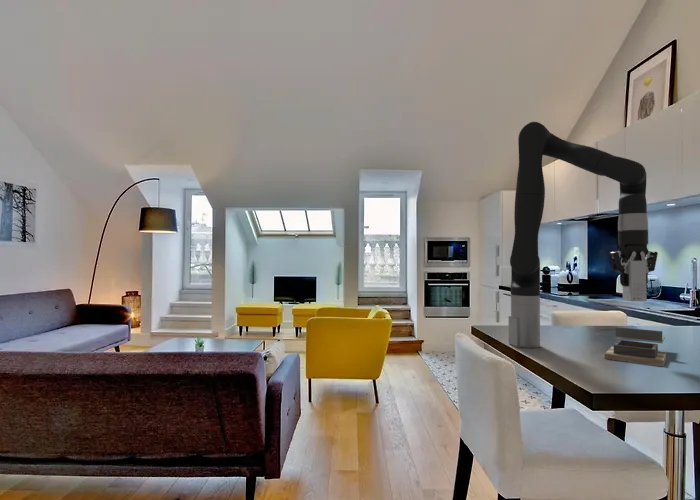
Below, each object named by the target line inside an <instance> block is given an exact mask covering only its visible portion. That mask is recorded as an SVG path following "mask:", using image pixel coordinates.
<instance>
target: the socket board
mask: <svg viewBox="0 0 700 500" xmlns="http://www.w3.org/2000/svg"><path fill="white" fill-rule="evenodd" d="M658 345H659V343H653V342H644V341H634V340H625V339H618V340H617V341H616V342H615V343H614V344H613V345H612V346H611V347H610V348H609V349H608V350H606V351H605V353H604V360H605V359H606V360H611V359H612V361H613V360H614V361H619V362H626V361H628V362H629V363H634V362H635V363H636V364H641V365H649V366H656V367H657V366H658V367H664V365H665V363H666V360H667V356H668V352H666V351H659V346H658ZM628 362H627V363H628Z"/></svg>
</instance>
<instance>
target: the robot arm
mask: <svg viewBox="0 0 700 500" xmlns="http://www.w3.org/2000/svg"><path fill="white" fill-rule="evenodd" d="M517 141H518V142H517V143H518V170H517V176H516V185H515V187H516V188H515V194H514V195H515V196H514V213H513V214H514V236H513V237H514V238H513V243H512V244H513V245H512V249H511V253H510V257H509V264H510V267H511V269H510V270H511V271H510V272H511V276H510V277H511V280H510V281H511V283H510V315H509V316H508V344H510V345H511V346H513V347H516V348H525V349H526V348H530V349H531V348H532V349H533V348H540V347H541V259H540V256H539V232H540V227H541V224H542V220H543V214H544V207H545V198H546V196H545V195H546V193H545V192H546V186H545V179H544V172H543V156H545V157H550V158H553V159H557V160H560V161H562V162H565V163H568V164H570V165H572V166H575V167H576V168H579V169H582V170H585V171H587V172H590V173H592V174H595V175H597V176H600V177H606V178H608V179H611V180H613V181H616V182H618V183H619V198H618V218H617V219H618V220H617V243H618V246H619V248H618V250H617V251H610V252H609V253H608V254H609V259H610V263H611V267H612V270H613V272H616V273H618V274H619V283H620V285H621V287H623V286H629V274H627V273H628V271H629V261H646V287H647V285H648V283H649V281H648V280H649V275H648V274H649V273H651V272H654V271H655V270H656V269H655V268H656V264H657V259H658V256H659V255H658V252H657V251H650V250H649V248H648V245H649V219H648V214H647V212H648V211H647V209H648V208H647V197H646V194H647V193H646V191H647V172H646V168H645V166H644V165H643V164H641V163H640V162H637V161H635V160H632V159H628V158H625V157H621V156H616V155H613V154H611V153H609V152H606V151H604V150H601V149H599V148H595V147H592V146H589V145H588V146H587V145H584V144H578V143H574V142H571V141H567V140H566V139H562V138H561V137H558V136H557V135H555V134H554V133H551V132H550V131H549V129H548V128H547V127H546V126H545V125H543V124H542V123H541V122H539V121H530V122H527V123H526V124H524V126H523V127H522V128H521V129H520V131H519V133H518V139H517ZM620 258H621V259H620ZM625 262H627V263H625Z"/></svg>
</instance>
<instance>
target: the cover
mask: <svg viewBox="0 0 700 500" xmlns="http://www.w3.org/2000/svg"><path fill="white" fill-rule="evenodd" d="M615 339H618V340H624V341H634V342H643V343H652V344H663V343H664V340H665V339H666V335H663V331H662V330H656V329H655V330H653V329H641V328H633V327H632V328H629V327H619V326H615Z"/></svg>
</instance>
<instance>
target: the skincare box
mask: <svg viewBox="0 0 700 500" xmlns="http://www.w3.org/2000/svg"><path fill="white" fill-rule="evenodd" d="M625 263H627V262H625ZM627 274H629V286H622V300H624V301H627V302H647V301H648V300H647V299H648V298H647V286H646V261H629V271H628V273H627Z"/></svg>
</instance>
